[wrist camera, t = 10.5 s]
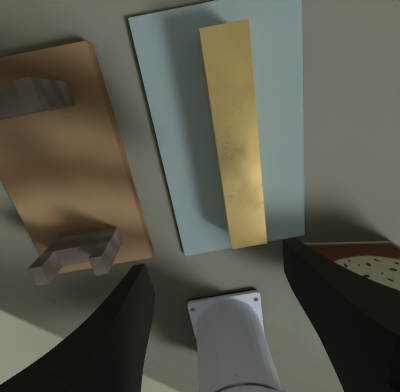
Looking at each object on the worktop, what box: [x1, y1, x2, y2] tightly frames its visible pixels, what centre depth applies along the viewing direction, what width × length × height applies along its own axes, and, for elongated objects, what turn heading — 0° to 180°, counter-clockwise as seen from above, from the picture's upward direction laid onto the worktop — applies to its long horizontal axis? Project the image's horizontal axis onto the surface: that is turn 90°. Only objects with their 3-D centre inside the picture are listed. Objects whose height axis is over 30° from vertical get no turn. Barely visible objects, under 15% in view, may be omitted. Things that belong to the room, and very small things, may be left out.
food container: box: [304, 241, 400, 290], centre depth 21 cm, size 12×6×10 cm, turn 90°
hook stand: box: [0, 41, 154, 286], centre depth 18 cm, size 18×10×6 cm, turn 10°
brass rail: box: [198, 19, 267, 249], centre depth 19 cm, size 16×3×3 cm, turn 10°
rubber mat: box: [128, 0, 305, 256], centre depth 20 cm, size 20×12×1 cm, turn 10°
